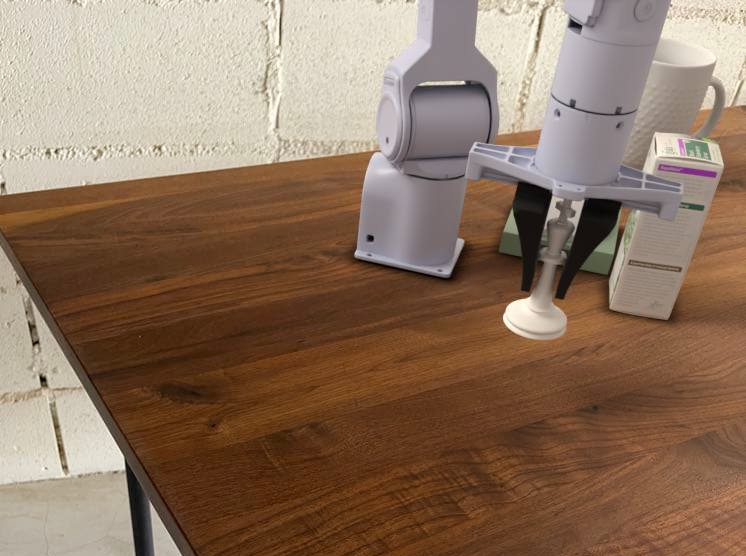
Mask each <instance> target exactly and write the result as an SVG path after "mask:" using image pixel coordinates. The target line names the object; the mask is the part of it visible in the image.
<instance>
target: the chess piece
mask: <svg viewBox="0 0 746 556" xmlns="http://www.w3.org/2000/svg"><path fill="white" fill-rule="evenodd" d="M571 204H572V200H567V199H564V200H563V202H562V201H557V202H556V206H555V208H556V209H558V210H559V211H560V215H559V218H553V219H550V220H549V221H548V222H547V242H548V247H546V248H542V249H541V250H540V252H539V253H538V257H539V258H540V259H541V260H542V261H541V262H543V261H544V262H543V265H542V267H541V270H540V273H539V275H538V277H537V281H536V283H535V285H534V286H533V289H532V292H531V293H530V294H531V295H530V296H529V297H526V298H521V299H517V300H515V301H512V302H510V303H509V304H508V305H507V306H506V308H505V311H504V313H503V316H502V321H503V323H504V325H505V326H506V327H507V328H508V329H509V330H510V331H511V332H513V333H515V335H518V336H520V337H523V338H525V339H530V340H535V341H553V340H556V339H559V338H561V337H562V336H563V335H564V334H565V333H566V332H567V325H568V317H567V315H566V313H565V312H564V311H563V310H562V309H561V308H560V307H558V306H556V305H555V303H554V302H553V293H554V286H555V280H556V274H557V269H558V266H560V265H559V264H563V263H565V262H566V261H567V255H566V253H565V252H564V251H562V248H563V247H564V246H565V244H566V242H567V241H568V239H569V238H570V236H571V235H572V234H573V232H574V230H575V226H574V224H573V223H572V222H571V221H569V220H567V219H568V217H569V218H572V217H575V214H576V211H575V210H574V209H572V208H571Z"/></svg>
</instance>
